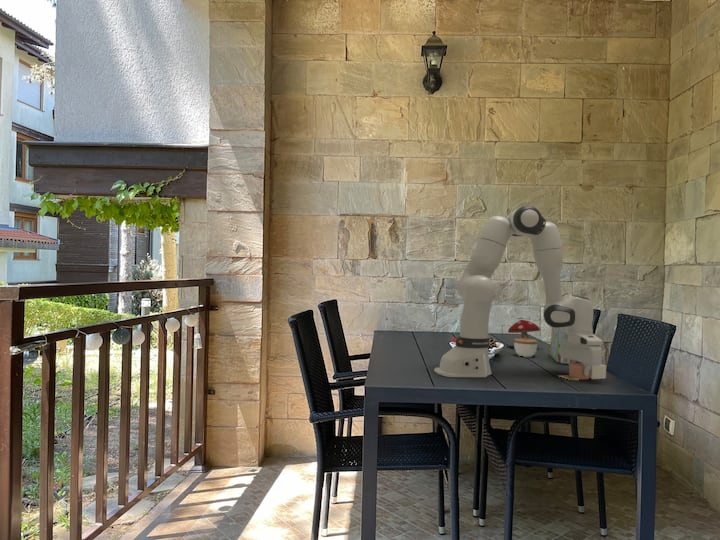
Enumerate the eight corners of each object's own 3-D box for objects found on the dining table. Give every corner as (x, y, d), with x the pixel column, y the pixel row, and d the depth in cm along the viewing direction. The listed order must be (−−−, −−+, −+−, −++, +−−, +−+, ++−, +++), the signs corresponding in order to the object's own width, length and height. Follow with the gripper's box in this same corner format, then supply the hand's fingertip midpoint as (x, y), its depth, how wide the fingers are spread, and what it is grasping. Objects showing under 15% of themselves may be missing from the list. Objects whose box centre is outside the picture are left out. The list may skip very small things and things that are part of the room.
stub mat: (569, 380, 195) (569, 379, 195) (557, 376, 202) (557, 375, 202) (579, 380, 196) (579, 379, 196) (567, 376, 203) (567, 375, 203)
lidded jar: (539, 356, 248) (540, 336, 248) (533, 359, 239) (534, 339, 239) (517, 353, 254) (517, 334, 254) (510, 356, 245) (511, 336, 245)
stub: (579, 379, 197) (580, 366, 197) (569, 376, 203) (569, 363, 203) (588, 379, 198) (588, 366, 198) (577, 375, 204) (578, 363, 204)
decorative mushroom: (505, 349, 266) (506, 320, 266) (509, 345, 281) (510, 317, 281) (538, 352, 260) (539, 322, 260) (540, 347, 275) (541, 319, 274)
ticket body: (591, 379, 199) (592, 365, 198) (581, 375, 204) (581, 362, 204) (605, 378, 200) (606, 365, 200) (594, 375, 206) (595, 362, 206)
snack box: (578, 365, 227) (579, 306, 227) (557, 364, 229) (558, 306, 228) (568, 356, 248) (570, 303, 248) (549, 355, 250) (550, 302, 250)
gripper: (555, 333, 209) (554, 367, 210) (591, 341, 190) (590, 379, 190) (569, 333, 211) (567, 367, 211) (605, 341, 192) (604, 378, 192)
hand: (578, 373), depth 201 cm, fingers closed on stub, 6 cm apart
